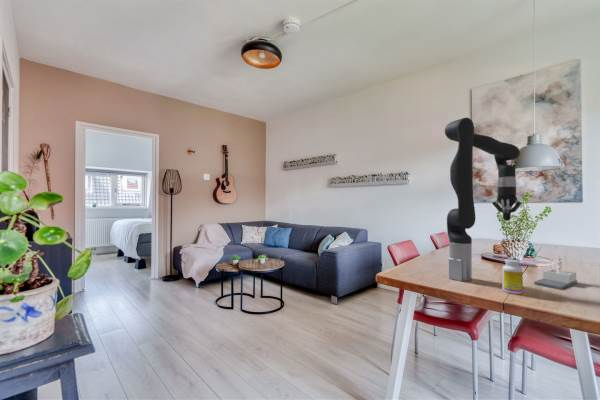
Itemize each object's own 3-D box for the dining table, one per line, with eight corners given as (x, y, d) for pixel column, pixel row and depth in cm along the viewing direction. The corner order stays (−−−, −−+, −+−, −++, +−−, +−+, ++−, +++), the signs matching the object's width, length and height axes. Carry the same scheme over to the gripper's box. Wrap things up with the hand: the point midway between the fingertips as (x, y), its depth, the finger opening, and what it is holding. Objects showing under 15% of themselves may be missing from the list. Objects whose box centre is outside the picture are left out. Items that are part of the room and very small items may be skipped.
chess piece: (549, 278, 132) (549, 256, 132) (558, 277, 133) (558, 256, 133) (559, 280, 127) (559, 258, 127) (569, 280, 128) (569, 258, 128)
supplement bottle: (525, 295, 112) (525, 262, 112) (505, 293, 114) (505, 261, 114) (519, 290, 118) (518, 259, 118) (500, 288, 120) (499, 258, 120)
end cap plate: (560, 289, 118) (560, 278, 118) (534, 284, 126) (534, 273, 126) (576, 282, 129) (576, 272, 129) (551, 278, 137) (551, 268, 137)
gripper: (488, 186, 147) (488, 220, 147) (518, 185, 136) (519, 221, 136) (495, 187, 151) (495, 219, 151) (525, 185, 140) (525, 221, 140)
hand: (506, 220), depth 144 cm, fingers closed
